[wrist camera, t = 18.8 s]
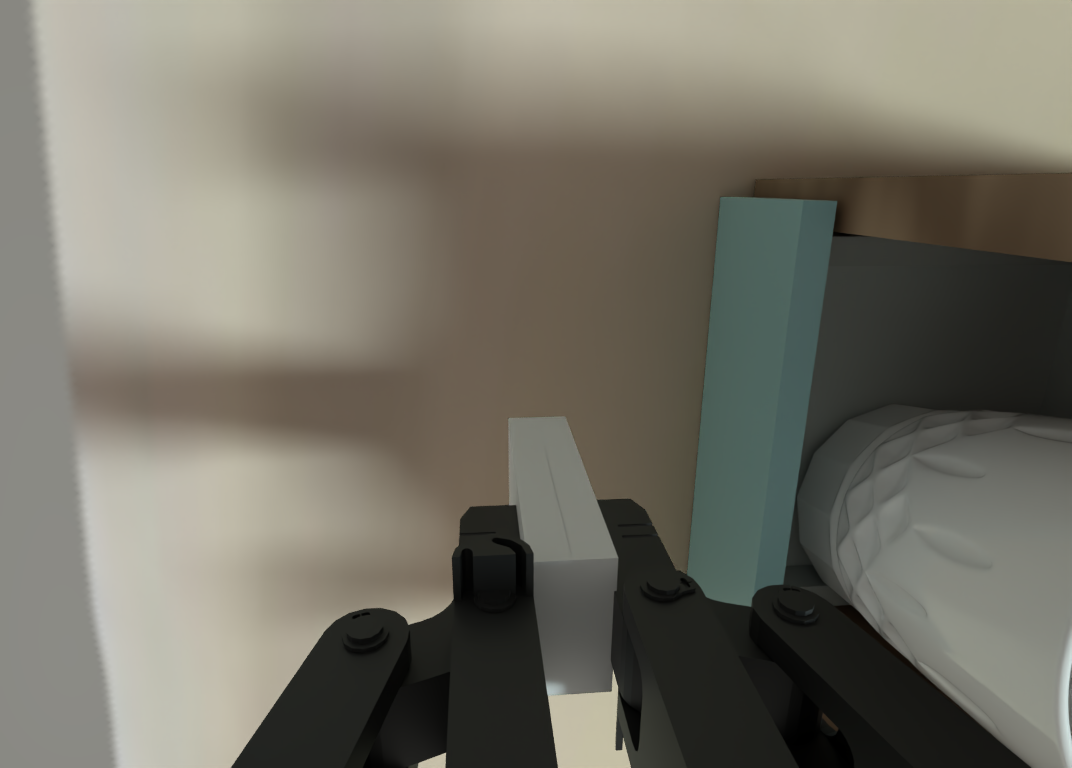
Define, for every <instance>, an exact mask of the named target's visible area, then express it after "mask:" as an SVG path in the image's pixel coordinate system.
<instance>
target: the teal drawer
mask: <svg viewBox="0 0 1072 768" xmlns="http://www.w3.org/2000/svg"><path fill="white" fill-rule="evenodd" d="M836 207H837V201H827V200H803V199H780V198H757V197H720V208H719V219H718V231H717V242H716V253H715V264H714V276H713V287H712V298H711V309H710V321H709V332H708V343H707V355H706V366H705V377H704V388H703V400H702V411H701V422H700V433H699V445H698V456H697V467H696V478H695V490H694V501H693V512H692V524H691V535H690V546H689V557H688V569H687V575H688V576H690V577H691V578H693V579H694V580H695V581H696V582H697V584H698V585H699V586H700V587H701V589H702V590H703V592H704V594H705V596H706V597H707V598H710V599H712V600H716V601H721V602H725V603H731V604H737V605H744V606H750V607H751V603H752V597H753V596H754V594H755V593H756V592H757V590H759V589H761V588H764V587H766V586H770V585H782V584H783V585H790V586H796V587H800V588H803V589H806V590H808V591H811V592H814V593H816V594H817V595H819V596H820V597H822V598H824V599H825V600H827V601H828V602H829V603H831V604H832V605H833V606H840V605H850V604H849V603H848V602H847V601H846V600H844V599H843V598H842V597H841V596H840V595H838V594H837V593H836V592H835V591H834V590H832V589H831V588H830V587H829V586H828V585H827V584H825V583H824V582H823V581H822V580H821V578H820V576H819V575H818V573H817V571H816V569H815V568H814V566H813V564H812V563H811V561H810V559H809V557H808V556H807V554H806V552H805V550H804V549H803V547H802V545H801V543H800V540H799V524H798V507H797V495H798V492H799V490H800V487H801V485H802V482H803V479H804V477H805V474H806V472H807V469H808V467H809V464H810V462H811V459H812V456H813V454H814V452H815V451H816V450H817V449H818V448H819V447H820V446H821V445H822V444H823V443H824V442H825V441H826V440H827V439H828V438H829V437H830V436H831V435H832V434H833V433H834V432H835V431H836V430H837V429H838V428H839V427H840V426H841V425H842V424H844V423H845V422H846V421H847V420H848V419H850V418H853V417H856V416H859V415H861V414H864V413H867V412H870V411H872V410H875V409H878V408H881V407H883V406H886V405H889V404H901V405H910V406H918V407H927V408H936V409H944V410H956V411H970V410H975V409H983V410H990V411H997V412H1014V413H1030V414H1037V415H1045V416H1052V417H1060V418H1069V419H1072V262H1066V261H1058V260H1050V259H1042V258H1035V257H1027V256H1019V255H1011V254H1004V253H996V252H988V251H980V250H972V249H965V248H957V247H949V246H941V245H933V244H926V243H918V242H910V241H902V240H894V239H887V238H879V237H871V236H863V235H855V234H848V233H840V232H833V228H834V221H835V214H836Z"/></svg>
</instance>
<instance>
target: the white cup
mask: <svg viewBox="0 0 1072 768" xmlns="http://www.w3.org/2000/svg"><path fill="white" fill-rule="evenodd" d="M797 507H798V524H799V540H800V543H801V545H802V547H803V549H804V550H805V552H806V554H807V556H808V557H809V559H810V561H811V563H812V564H813V566H814V568H815V569H816V571H817V573H818V575H819V576H820V578H821V580H822V581H823V582H824V583H825V584H827V585H828V586H829V587H830V588H831V589H832V590H834V591H835V592H836V593H837V594H838V595H840V596H841V597H842V598H843V599H844V600H846V601H847V602H848V603H849V604H850V605H851V606H853V607H854V608H855V609H856V610H857V611H859V612H860V613H861V614H862V616H863V617H864V618H865V619H866V620H867V621H868V622H869V623H870V625H871V626H872V627H873V628H874V629H875V630H876V631H877V632H878V633H879V634H880V635H881V636H882V637H883V638H884V639H885V640H886V641H887V642H888V643H889V644H891V645H892V646H893V647H894V648H895V649H896V650H897V651H898V652H900V653H901V654H902V655H903V656H904V657H906V658H907V659H908V660H909V661H910V662H911V663H912V664H913V665H914V666H915V667H916V668H917V669H918V670H919V671H920V672H921V673H922V674H923V675H924V676H925V677H926V678H927V679H928V680H929V681H931V682H932V683H933V684H934V685H935V686H936V687H937V688H939V689H940V690H941V691H942V692H943V693H944V694H945V695H947V696H948V697H949V698H950V699H951V700H952V701H953V702H955V703H956V704H957V705H958V706H959V707H960V708H961V709H963V710H964V711H965V712H966V713H967V714H968V715H970V716H971V717H972V718H973V719H974V720H975V721H976V722H978V723H979V724H980V725H981V726H982V727H983V728H984V729H986V730H987V731H988V732H989V733H990V734H991V735H992V736H994V737H995V738H996V739H997V740H998V741H1000V742H1001V743H1002V744H1003V745H1004V746H1006V747H1007V748H1008V749H1009V750H1011V751H1012V752H1013V753H1014V754H1015V755H1017V756H1018V757H1019V758H1020V759H1022V760H1023V761H1024V762H1025V763H1026V764H1028V765H1029V766H1030V767H1031V768H1072V419H1069V418H1060V417H1052V416H1045V415H1037V414H1030V413H1014V412H997V411H990V410H983V409H975V410H970V411H956V410H944V409H936V408H927V407H918V406H910V405H901V404H889V405H886V406H883V407H881V408H878V409H875V410H872V411H870V412H867V413H864V414H861V415H859V416H856V417H853V418H850V419H848V420H847V421H846V422H845V423H844V424H842V425H841V426H840V427H839V428H838V429H837V430H836V431H835V432H834V433H833V434H832V435H831V436H830V437H829V438H828V439H827V440H826V441H825V442H824V443H823V444H822V445H821V446H820V447H819V448H818V449H817V450H816V451H815V452H814V454H813V456H812V459H811V462H810V464H809V467H808V469H807V472H806V474H805V477H804V479H803V482H802V485H801V487H800V490H799V492H798V495H797Z"/></svg>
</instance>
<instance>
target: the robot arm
mask: <svg viewBox="0 0 1072 768" xmlns="http://www.w3.org/2000/svg"><path fill="white" fill-rule="evenodd" d="M508 441H509V505H502V506H477V507H470V508H469V509H468V510H467V512H466V513H465V514H464V515H463V517H462V518H461V519H460V536H459V546H458V547H457V548H456V549H455V551H454V553H453V556H452V570H453V594H454V600H453V601H452V603H451V604H450V605H449V606H448V607H447V608H446V609H445V610H444V611H442V612H441V613H439V614H437V615H436V616H434V617H432V618H429V619H426V620H424V621H421V622H417V623H414V624H410V625H408V623H407V621H406V619H405V618H404V617H402V616H401V615H400V614H398V613H397V612H395V611H391V610H387V609H383V608H371V609H363V610H359V611H355V612H352V613H349V614H347V615H345V616H343V617H341V618H340V619H338V620H336V621H335V622H334V623H333V624H332V625H331V626H330V627H329V628H328V629H327V630H326V631H325V632H324V633H323V635H322V636H321V638H320V639H319V641H318V642H317V643H316V645H315V646H314V648H313V649H312V651H311V652H310V654H309V655H308V656H307V658H306V659H305V661H304V662H303V664H302V665H301V667H300V668H299V670H298V671H297V672H296V674H295V675H294V677H293V678H292V680H291V681H290V683H289V684H288V686H287V687H286V688H285V690H284V691H283V693H282V694H281V696H280V697H279V699H278V700H277V702H276V703H275V704H274V706H273V707H272V709H271V710H270V712H269V713H268V715H267V716H266V718H265V719H264V720H263V722H262V723H261V725H260V726H259V728H258V729H257V731H256V732H255V734H254V735H253V736H252V738H251V739H250V741H249V742H248V744H247V745H246V747H245V748H244V749H243V751H242V752H241V754H240V755H239V757H238V758H237V760H236V761H235V763H234V764H233V765H232V767H231V768H418V763H419V762H422V761H424V760H427V759H430V758H432V757H435V756H438V755H440V754H443V753H446V768H558V765H557V758H556V751H555V744H554V737H553V730H552V723H551V716H550V709H549V702H548V696H549V695H564V694H579V693H594V692H610V691H612V674H613V670H614V674H615V677H616V681H617V685H618V704H617V722H616V750H622V744H623V738H624V742H625V745H626V749H627V753H628V757H629V761H630V765H631V768H1031V767H1030V766H1029V765H1028V764H1026V763H1025V762H1024V761H1023V760H1022V759H1020V758H1019V757H1018V756H1017V755H1015V754H1014V753H1013V752H1012V751H1011V750H1009V749H1008V748H1007V747H1006V746H1004V745H1003V744H1002V743H1001V742H1000V741H998V740H997V739H996V738H995V737H993V736H992V735H991V734H990V733H989V732H987V731H986V730H985V729H984V728H982V727H981V726H980V725H979V724H978V723H976V722H975V721H974V720H973V719H971V718H970V717H969V716H968V715H967V714H965V713H964V712H963V711H962V710H960V709H959V708H958V707H957V706H955V705H954V704H953V703H952V702H951V701H949V700H948V699H947V698H946V697H944V696H943V695H942V694H941V693H940V692H938V691H937V690H936V689H935V688H933V687H932V686H931V685H930V684H929V683H927V682H926V681H925V680H924V679H922V678H921V677H920V676H919V675H918V674H916V673H915V672H914V671H913V670H911V669H910V668H909V667H908V666H907V665H905V664H904V663H903V662H902V661H900V660H899V659H898V658H897V657H896V656H894V655H893V654H892V653H891V652H889V651H888V650H887V649H886V648H885V647H883V646H882V645H881V644H880V643H878V642H877V641H876V640H875V639H874V638H872V637H871V636H870V635H869V634H867V633H866V632H865V631H864V630H862V629H861V628H860V627H859V626H858V625H856V624H855V623H854V622H853V621H851V620H850V619H849V618H848V617H847V616H845V615H844V614H843V613H842V612H840V611H839V610H838V609H837V608H836V607H834V606H833V605H832V604H831V603H829V602H828V601H827V600H825V599H824V598H822V597H820V596H819V595H817V594H816V593H814V592H811V591H808V590H806V589H803V588H800V587H796V586H790V585H783V584H782V585H770V586H766V587H764V588H761V589H759V590H757V592H756V593H755V594H754V596H753V597H752V603H751V607H750V606H744V605H737V604H731V603H725V602H721V601H716V600H712V599H710V598H707V597H706V596H705V594H704V592H703V590H702V589H701V587H700V586H699V585H698V584H697V582H696V581H695V580H694V579H693V578H691V577H690V576H688V575H686V574H684V573H683V572H681V571H677V570H676V569H675V567H674V565H673V563H672V561H671V559H670V557H669V555H668V553H667V551H666V549H665V548H664V546H663V544H662V542H661V540H660V538H659V537H658V534H657V532H656V530H655V528H654V526H652V522H651V520H650V518H649V516H648V514H647V512H646V510H645V509H643V508H642V507H641V506H639V505H638V504H637V503H635V502H634V501H633V500H631V499H610V500H596V497H595V494H594V492H593V489H592V486H591V484H590V481H589V478H588V476H587V473H586V470H585V468H584V465H583V462H582V459H581V457H580V454H579V451H578V449H577V446H576V443H575V441H574V438H573V435H572V433H571V430H570V427H569V425H568V422H567V419H566V417H565V416H560V417H525V418H508ZM823 713H824V714H825V715H826V716H827V717H828V718H829V719H830V720H831V721H832V722H833V723H834V724H835V725H836V727H837V728H838V731H835V730H834V729H833V728H832V727H831V726H829V725H828V723H827V722H826V721H825V720H824V719H823V718H822V715H823Z"/></svg>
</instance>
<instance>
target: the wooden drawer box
mask: <svg viewBox="0 0 1072 768" xmlns="http://www.w3.org/2000/svg"><path fill="white" fill-rule="evenodd" d="M754 197H757V198H780V199H803V200H827V201H837V207H836V214H835V221H834V228H833V232H840V233H848V234H855V235H863V236H871V237H879V238H887V239H894V240H902V241H910V242H918V243H926V244H933V245H941V246H949V247H957V248H965V249H972V250H980V251H988V252H996V253H1004V254H1011V255H1019V256H1027V257H1035V258H1042V259H1050V260H1058V261H1066V262H1072V173H1057V174H1008V175H958V176H909V177H859V178H810V179H760V180H756V182H755V191H754ZM834 607H836V608H837V609H838V610H839V611H840V612H842V613H843V614H844V615H845V616H847V617H848V618H849V619H850V620H851V621H853V622H854V623H855V624H856V625H858V626H859V627H860V628H861V629H862V630H864V631H865V632H866V633H867V634H869V635H870V636H871V637H872V638H874V639H875V640H876V641H877V642H878V643H880V644H881V645H882V646H883V647H885V648H886V649H887V650H888V651H889V652H891V653H892V654H893V655H894V656H896V657H897V658H898V659H899V660H900V661H902V662H903V663H904V664H905V665H907V666H908V667H909V668H910V669H911V670H913V671H914V672H915V673H916V674H918V675H919V676H920V677H921V678H922V679H924V680H925V681H926V682H927V683H929V684H930V685H931V686H932V687H933V688H935V689H936V690H937V691H938V692H940V693H941V694H942V695H943V696H944V697H946V698H947V699H948V700H949V701H951V702H952V703H953V704H954V705H955V706H957V707H958V708H959V709H960V710H962V711H963V712H964V713H965V714H967V713H966V712H965V711H964V710H963V709H961V708H960V707H959V706H958V705H957V704H956V703H955V702H953V701H952V700H951V699H950V698H949V697H948V696H947V695H945V694H944V693H943V692H942V691H941V690H940V689H939V688H937V687H936V686H935V685H934V684H933V683H932V682H931V681H929V680H928V679H927V678H926V677H925V676H924V675H923V674H922V673H921V672H920V671H919V670H918V669H917V668H916V667H915V666H914V665H913V664H912V663H911V662H910V661H909V660H908V659H907V658H906V657H904V656H903V655H902V654H901V653H900V652H898V651H897V650H896V649H895V648H894V647H893V646H892V645H891V644H889V643H888V642H887V641H886V640H885V639H884V638H883V637H882V636H881V635H880V634H879V633H878V632H877V631H876V630H875V629H874V628H873V627H872V626H871V625H870V623H869V622H868V621H867V620H866V619H865V618H864V617H863V616H862V614H861V613H860V612H859V611H857V610H856V609H855V608H854V607H853V606H851V605H840V606H834ZM967 715H968V714H967ZM968 716H969V717H970V718H971V719H973V718H972V717H971V716H970V715H968ZM822 718H823V719H824V720H825V721H826V722H827V723H828V725H829V726H831V727H832V728H833V729H834V730H835V731H838V728H837V727H836V725H835V724H834V723H833V722H832V721H831V720H830V719H829V718H828V717H827V716H826V715H825V714H824V713H823V715H822ZM973 720H974V719H973ZM974 721H975V720H974ZM975 722H976V721H975ZM976 723H978V722H976ZM978 724H979V723H978ZM979 725H980V724H979ZM980 726H981V725H980ZM981 727H982V726H981ZM982 728H983V727H982ZM985 730H986V729H985ZM986 731H987V730H986ZM987 732H988V731H987ZM993 737H994V736H993Z"/></svg>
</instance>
